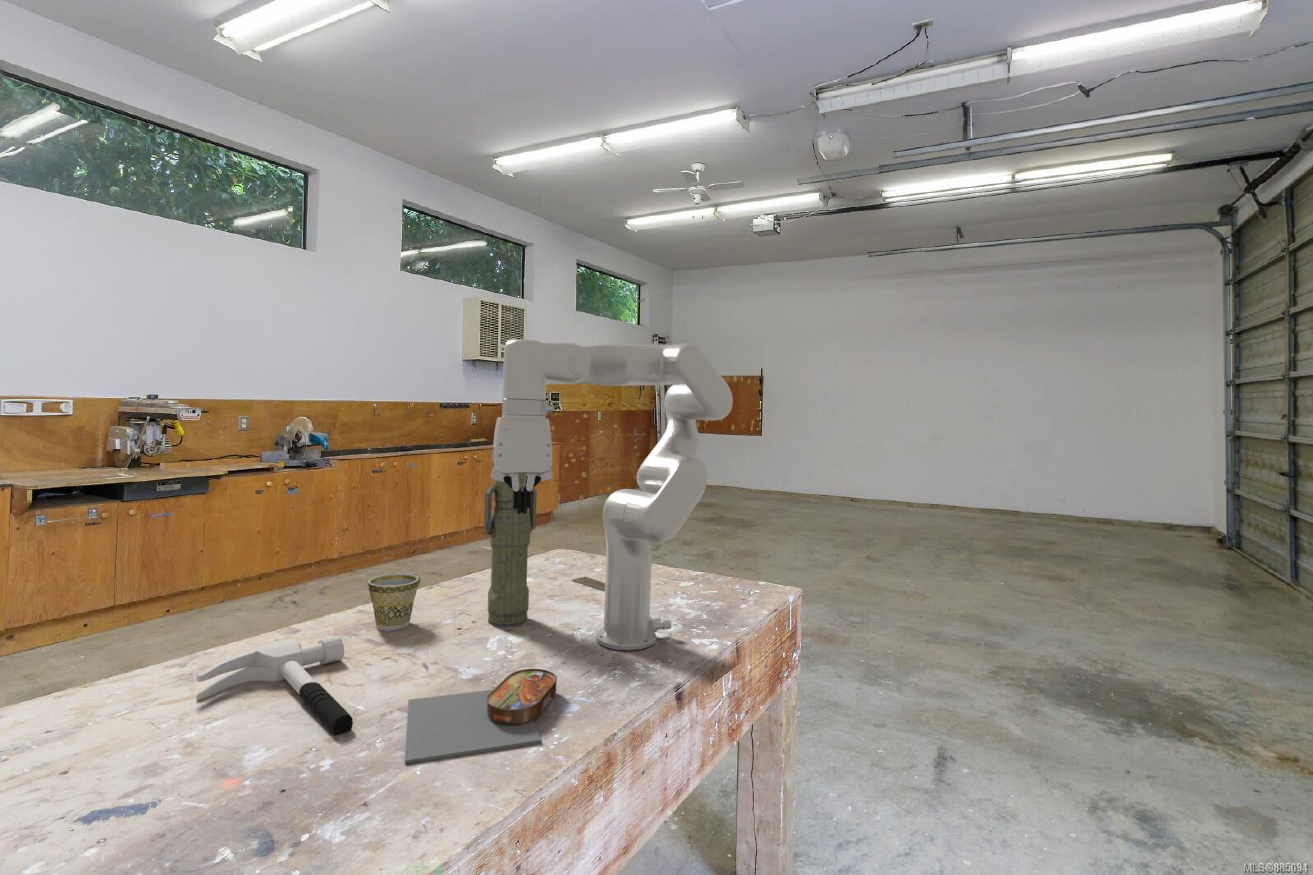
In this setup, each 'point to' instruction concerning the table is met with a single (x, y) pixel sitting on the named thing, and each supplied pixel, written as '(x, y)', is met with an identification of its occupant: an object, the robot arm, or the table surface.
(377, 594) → the ceramic cup
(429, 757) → the mat
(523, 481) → the thermos
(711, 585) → the table surface
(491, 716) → the tin
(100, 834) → the table surface
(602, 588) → the wooden plank
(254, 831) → the table surface
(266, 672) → the claw hammer
